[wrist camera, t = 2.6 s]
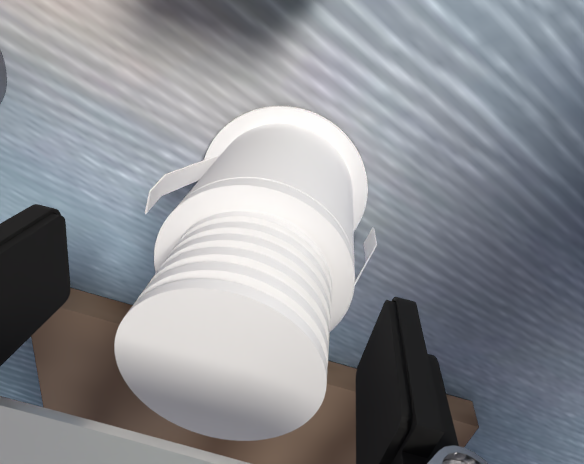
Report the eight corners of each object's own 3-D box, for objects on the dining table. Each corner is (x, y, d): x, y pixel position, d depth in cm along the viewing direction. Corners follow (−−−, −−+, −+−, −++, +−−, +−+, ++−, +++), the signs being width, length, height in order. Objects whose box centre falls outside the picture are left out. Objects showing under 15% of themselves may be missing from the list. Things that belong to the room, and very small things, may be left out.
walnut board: (472, 401, 21) (478, 427, 20) (377, 538, 29) (377, 563, 28) (44, 280, 22) (24, 297, 21) (67, 445, 30) (53, 465, 29)
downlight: (178, 219, 19) (31, 406, 10) (217, 70, 15) (41, 158, 6) (336, 280, 19) (325, 506, 11) (409, 150, 16) (483, 329, 7)
